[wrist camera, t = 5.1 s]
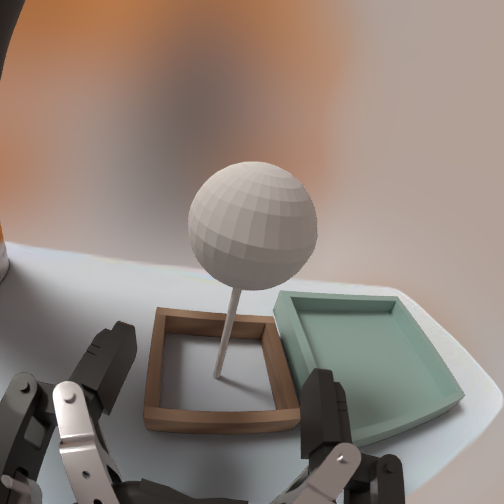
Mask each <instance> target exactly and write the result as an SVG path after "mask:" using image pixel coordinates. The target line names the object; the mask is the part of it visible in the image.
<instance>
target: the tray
mask: <svg viewBox="0 0 504 504" xmlns="http://www.w3.org/2000/svg"><path fill="white" fill-rule="evenodd" d="M273 311H274V315H275V318H276V321H277V325H278V328H279V331H280V335H281V338H282V341H283V345H284V348H285V352H286V355H287V358H288V362H289V365H290V368H291V372H292V375H293V378H294V382H295V385H296V388H297V392H298V395H299V398H300V392H301V388H302V386H303V384H304V383H305V381H306V380H307V378H308V377H309V375H310V374H311V372H312V371H313V369H314V368H320V369H329V370H332V372H333V378H334V382H340V384H341V385H342V387H343V389H344V391H345V394H346V400H347V402H346V404H347V407H348V411H347V412H348V414H349V421H350V429H351V437H352V442H353V445H355V446H356V447H357V448H359V447H362V446H366V445H369V444H372V443H375V442H378V441H381V440H383V439H386V438H389V437H392V436H394V435H397V434H399V433H402V432H404V431H407V430H409V429H412V428H414V427H416V426H418V425H421V424H423V423H425V422H427V421H429V420H431V419H433V418H435V417H437V416H439V415H441V414H443V413H445V412H447V411H449V410H450V409H451V408H452V407H454V406H455V405H456V404H457V403H458V402H459V401H460V400H461V399H462V398H463V397H464V396H465V394H464V393H463V391H462V389H461V388H460V386H459V384H458V383H457V381H456V379H455V378H454V376H453V375H452V373H451V372H450V370H449V368H448V367H447V365H446V364H445V362H444V361H443V359H442V358H441V356H440V355H439V353H438V352H437V350H436V349H435V347H434V346H433V344H432V343H431V342H430V340H429V339H428V337H427V336H426V334H425V333H424V332H423V330H422V329H421V327H420V326H419V325H418V323H417V322H416V321H415V319H414V318H413V317H412V315H411V314H410V313H409V311H408V310H407V309H406V307H405V306H404V305H403V303H402V302H401V301H400V299H399V298H398V297H394V296H366V295H344V294H325V293H309V292H293V291H280V292H279V295H278V298H277V301H276V304H275V306H274V309H273Z"/></svg>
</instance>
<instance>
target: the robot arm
mask: <svg viewBox="0 0 504 504" xmlns="http://www.w3.org/2000/svg"><path fill="white" fill-rule="evenodd" d="M24 2H25V0H0V79H1V75H2V70H3V65H4V60H5V57H6V53H7V49H8V46H9V42H10V39H11V36H12V33H13V30H14V28H15V25H16V23H17V20H18V18H19V15H20V12H21V10H22V7H23V5H24ZM8 268H9V260H8V256H7V252H6V246H5V242H4V239H3V234H2V229H1V223H0V282H1V280H2V279H3V278H4V276H5V275H6V273H7V270H8ZM136 353H137V342H136V334H135V327H134V326H133V325H130V324H127V323H124V322H121V321H117V322H116V324H115V325H114V327H113V328H112V330H109V329H106V328H105V329H104V330H102V331H101V332H100V333H98V334H97V335H96V336H95V338H94V339H93V341H92V343H91V345H90V346H89V347H88V349H87V352H85V354H84V355H83V357H82V359H81V360H80V362H79V364H78V365H77V367H76V369H75V370H74V372H73V374H72V376H71V377H70V378H69V379H68V380H67V381H64V382H61V383H59V384H58V385H53V384H47V383H42V382H37V381H36V379H35V378H34V377H33V376H32V375H31V374H29V373H26V372H22V373H19V374H17V375H16V376H15V377H14V378H13V380H12V381H11V383H10V385H9V387H8V389H7V391H6V392H5V394H4V396H3V398H2V400H1V402H0V504H42V491H41V489H40V487H39V485H38V484H37V483H36V481H37V477H38V474H39V471H40V468H41V465H42V462H43V459H44V456H45V453H46V450H47V447H48V445H49V442H50V439H51V437H52V434H53V431H54V429H55V426H58V427H59V431H60V436H61V443H60V444H59V448H60V453H61V456H62V460H63V463H64V466H65V470H66V473H67V476H68V479H69V482H70V484H71V487H72V490H73V492H74V495H75V497H76V500H77V503H74V504H248V501H243V500H234V499H227V498H208V499H194V498H191V497H189V496H186V495H184V494H182V493H180V492H178V491H176V490H174V489H172V488H170V487H168V486H165V485H161V484H158V483H155V482H152V481H148V480H145V479H142V480H141V481H125V482H124V481H123V479H122V477H121V474H120V472H119V470H118V468H117V466H116V464H115V462H114V460H113V458H112V456H111V454H110V451H109V449H108V446H107V443H106V440H105V437H104V434H103V431H102V428H101V425H100V422H99V418H100V416H101V414H102V413H104V414H106V415H108V416H109V415H110V412H111V410H112V408H113V405H114V403H115V401H116V399H117V396H118V394H119V392H120V390H121V387H122V385H123V383H124V381H125V379H126V377H127V374H128V372H129V370H130V368H131V366H132V364H133V362H134V359H135V357H136ZM346 402H347V400H346V394H345V391H344V389H343V387H342V385H341V384H340V382H334V378H333V372H332V370H329V369H320V368H314V369H313V371H312V372H311V374H310V375H309V377H308V378H307V380H306V381H305V383H304V384H303V386H302V388H301V392H300V422H301V459H309V465H308V466H307V467H306V468H305V469H304V470H303V471H302V473H301V474H300V475H299V476H298V477H297V478H296V479H295V480H294V481H293V483H292V484H291V485H290V486H289V487H288V488H287V489H286V490H285V491H284V492H283V493H282V494H281V495H279V496H278V497H276V498H275V499H274V500H273V501H272V502H271V503H269V504H336V501H335V500H336V498H337V497H338V495H339V494H340V492H341V491H342V490H343V489H344V504H405V492H404V479H403V469H402V463H401V461H400V459H399V458H398V457H397V456H395V455H392V454H387V455H384V456H382V457H381V458H378V457H374V456H370V455H366V454H363V453H361V452H360V451H359V449H358V448H357V447H356V446H355V445H353V442H352V437H351V429H350V421H349V414H348V412H347V411H348V407H347V404H346Z"/></svg>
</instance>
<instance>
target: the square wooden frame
mask: <svg viewBox="0 0 504 504" xmlns="http://www.w3.org/2000/svg"><path fill="white" fill-rule="evenodd" d="M226 317H227V314H223V313H211V312H200V311H189V310H179V309H170V308H161V307H157V310H156V316H155V322H154V328H153V334H152V341H151V348H150V355H149V363H148V371H147V380H146V390H145V401H144V413H143V419H144V423H145V426H146V429H147V430H155V431H165V432H177V433H193V434H248V433H264V432H276V431H286V430H293V429H294V427H295V426H296V425H297V424H298V423H299V422H300V406H299V403H298V400H297V396H296V393H295V389H294V386H293V382H292V379H291V376H290V372H289V369H288V365H287V362H286V358H285V355H284V352H283V348H282V345H281V341H280V338H279V335H278V331H277V328H276V324H275V321H274V318H273V316H254V315H238V314H235V318H234V322H233V326H232V330H231V334H230V338H252V339H260V341H261V345H262V349H263V354H264V358H265V363H266V367H267V371H268V376H269V380H270V384H271V389H272V393H273V397H274V402H275V406H276V410H270V411H247V412H211V411H189V410H175V409H164V408H160V394H161V378H162V365H163V354H164V343H165V334H166V332H168V333H177V334H188V335H200V336H213V337H222V334H223V330H224V326H225V321H226Z"/></svg>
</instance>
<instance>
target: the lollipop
mask: <svg viewBox="0 0 504 504" xmlns="http://www.w3.org/2000/svg"><path fill="white" fill-rule="evenodd" d="M188 234H189V239H190V243H191V247H192V250H193V252H194V254H195V256H196V258H197V260H198V261H199V263H200V264H201V266H202V267H203V268H204V269H205V270H206V271H207V272H208V273H209V274H210V275H211V276H212V277H213V278H215V279H216V280H218V281H220V282H222V283H223V284H226V285H228V286H230V287H233V290H232V295H231V299H230V303H229V308H228V312H227V317H226V321H225V326H224V330H223V334H222V339H221V343H220V348H219V352H218V357H217V362H216V366H215V371H214V375H213V376H214V378H216V379H218V378H219V377H220V373H221V369H222V365H223V361H224V357H225V353H226V349H227V345H228V341H229V337H230V334H231V330H232V326H233V322H234V318H235V314H236V310H237V306H238V302H239V298H240V294H241V290H265V289H269V288H272V287H275V286H277V285H280V284H282V283H284V282H286V281H287V280H289V279H290V278H291V277H293V276H294V275H295V274H296V273H297V272H299V270H300V269H301V268H302V267H303V265H304V264H305V263H306V262H307V260H308V259H309V257H310V256H311V254H312V253H313V251H314V249H315V244H316V240H317V217H316V212H315V207H314V205H313V203H312V200H311V198H310V196H309V194H308V193H307V191H306V189H305V188H304V187H303V185H302V184H301V183H300V182H299V181H298V180H297V179H296V178H295V177H294V176H292V175H291V174H290V173H289V172H287V171H285V170H283V169H281V168H279V167H277V166H275V165H272V164H269V163H264V162H242V163H238V164H234V165H230V166H228V167H226V168H224V169H222V170H220V171H218V172H217V173H215V174H214V175H213V176H212V177H210V178H209V179H208V180H207V181H206V182H205V183H204V185H203V186H202V187H201V189H200V190H199V191H198V192H197V194H196V196H195V198H194V200H193V202H192V204H191V208H190V213H189V219H188Z"/></svg>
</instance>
